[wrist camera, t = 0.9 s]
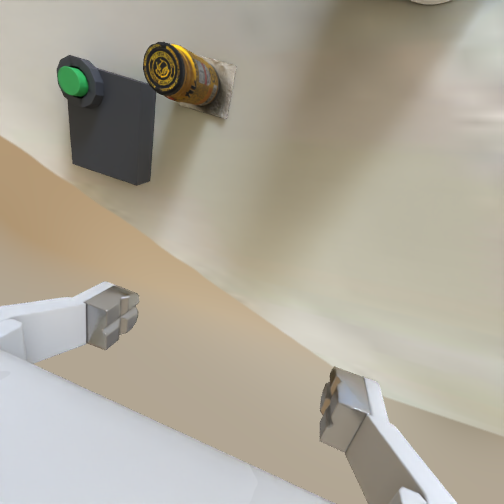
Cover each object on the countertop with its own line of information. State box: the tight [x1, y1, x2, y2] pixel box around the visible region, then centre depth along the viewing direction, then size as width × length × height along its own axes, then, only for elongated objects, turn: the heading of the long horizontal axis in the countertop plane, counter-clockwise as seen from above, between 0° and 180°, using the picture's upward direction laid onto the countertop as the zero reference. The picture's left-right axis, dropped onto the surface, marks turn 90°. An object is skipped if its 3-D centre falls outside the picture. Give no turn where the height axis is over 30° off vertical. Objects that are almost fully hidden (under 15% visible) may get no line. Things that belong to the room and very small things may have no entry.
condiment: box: [143, 42, 237, 119], centre depth 35 cm, size 7×8×12 cm
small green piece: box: [58, 66, 88, 96], centre depth 38 cm, size 4×4×2 cm
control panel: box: [57, 55, 156, 185], centre depth 44 cm, size 17×13×6 cm
